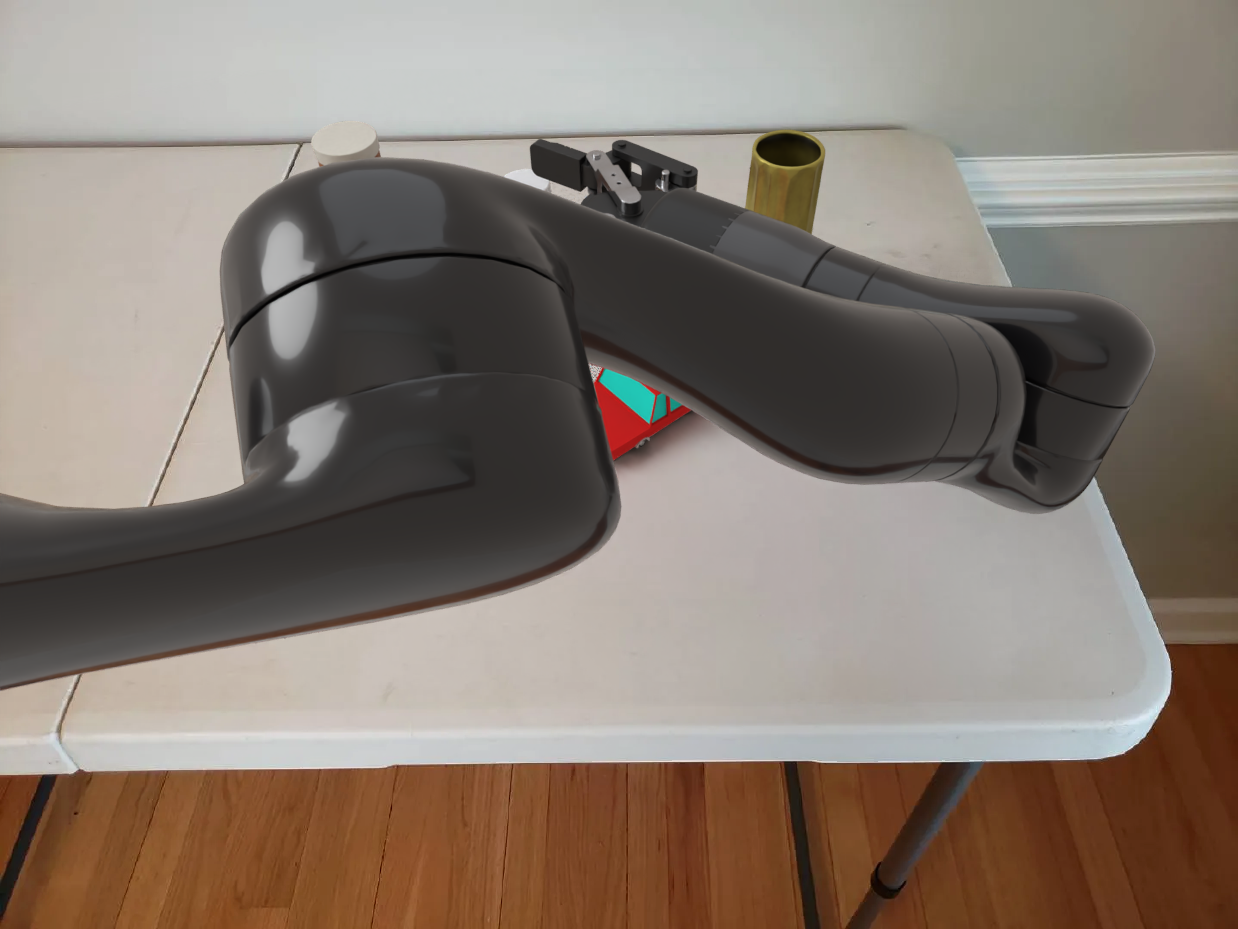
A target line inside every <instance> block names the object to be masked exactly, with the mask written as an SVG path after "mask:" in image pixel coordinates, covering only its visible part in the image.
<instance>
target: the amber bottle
mask: <svg viewBox="0 0 1238 929" xmlns="http://www.w3.org/2000/svg"><path fill="white" fill-rule="evenodd" d="M310 143H311V148H312V151H313V154H314V158H315V159H316V161H317V164H318V167H321V166H324V165H327V164H330V163H334V162H342V161H350V160H358V159H366V158H374V157H382V156H381V151H380V147H381V146H380V141H379V137H378V134H377V130H376V129H375V127H373V126H372V125H370V124H369V123H366V122H363V121H358V120H345V121H344V120H343V121H338V122H333V123H330V124H328V125H325V126H323V127H322V128H320V129H318V130H317V131H316V132H314V134H313V135H312V138H311V141H310Z"/></svg>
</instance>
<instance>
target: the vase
mask: <svg viewBox="0 0 1238 929" xmlns="http://www.w3.org/2000/svg"><path fill="white" fill-rule="evenodd" d="M825 157H826V148H825V146H824V144H823V142H822V141H820V139H818V138H817V137H815V136H814V135H812V134H810V133H808V132H805V131H801V130H795V129H778V130H773V131H769V132H765V133H764V134H761V135H760V136H758V137H757V138H756V139H755V140H754V142H753V145H752V148H751V159H750V165H749V172H748V173H749V174H748V180H747V188H746V196H745V197H746V198H745V205H744V208H745V209H748V210H751V211H754V212H756V213H759V214H762V215H765V216H768V217H771V218H774V219H777V220H779V221H782V222H785V223H788V224H791V225H793V226H796V227H798V228H800V229H802V230H804V231H806V232H808V233H810V234H812V235H813V229H814V224H815V223H814V222H815V216H816V211H817V207H818V200H819V193H820V187H821V182H822V181H821V180H822V175H823V170H824V165H825Z"/></svg>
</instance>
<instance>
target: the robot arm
mask: <svg viewBox="0 0 1238 929" xmlns="http://www.w3.org/2000/svg"><path fill="white" fill-rule="evenodd" d="M529 158H530V169H532V171H533V173H534V174H535V175H537V176H539V177H541V178H544V179H547V180H549V181H550V182H552V183H555V184H558V185H560V186H563V187H565V188H568V189H571V190H574V191H576V192H579V193H582V192H583V191H584V190H585V189H587V190H586V191H587V194H588V195H587V196H586V197H585V198H583V199H582V200H581V202H580V203H578V202H576V201H573V200H570V199H568V198H566V197H563V196H560V195H557V194H555V193H552V192H551V193H549V192H547V191H544V190H541V189H538V188H535V187H533V186H530V185H527V184H524V183H521V182H518V181H515V180H512V179H509V178H505V177H503V176H502V175H498V174H496V173H492V172H489V171H484V170H480V169H478V168H477V169H476V168H473V167H468V166H465V165H460V164H455V163H450V162H445V161H439V160H431V159H425V158H410V157H409V158H407V157H392V156H390V157H389V156H381V157H374V158H366V159H358V160H350V161H342V162H334V163H330V164H327V165H324V166H321V167H319V166H318V167H315V168H312V169H308V170H305V171H302V172H299V173H296V174H294V175H291V176H289V177H288V178H286V179H284V180H283V181H280V182H278V183H277V184H275V185H274V186H272V187H270V188H267V189H266V190H265V191H264V192H263V193H261V194H260V195H259V196H258V197H257V198H256V199H255V200H254V201H252V202H251V203H250V204H249V205H248V206H247V207H246V208H245V209H244V210H243V211H242V212H240V214H239V215H238V217H237V218H236V220H235V222H234V223H233V225H232V226H231V228H230V230H229V231H228V233H227V235H226V238H225V240H224V242H223V245H222V248H221V252H220V253H221V254H220V262H219V290H220V301H221V302H220V303H221V311H222V319H223V320H222V321H223V329H224V337H225V346H226V348H225V349H226V357H227V361H228V366H229V367H228V372H229V379H230V387H231V394H232V402H233V411H234V418H235V426H236V434H237V442H238V449H239V450H238V451H239V457H240V458H239V459H240V465H241V473H242V479H243V483H242V484H241V485H239V486H237V487H235V488H232V489H229V490H228V491H225V492H221V493H218V494H214V495H210V496H205V497H201V498H195V499H191V500H186V501H180V502H173V503H165V504H163V503H162V504H157V505H148V506H135V507H134V506H133V507H120V508H109V507H108V508H107V507H106V508H105V507H83V506H81V507H80V506H65V505H64V506H63V505H53V504H51V503H50V504H49V503H45V502H41V501H36V500H33V499H27V498H23V497H19V496H14V495H10V494H6V493H2V492H0V692H4V691H9V690H13V689H18V688H22V687H26V686H31V685H36V684H40V683H46V682H51V681H55V680H61V679H66V678H70V677H75V676H79V675H85V674H91V673H96V672H102V671H107V670H113V669H119V668H123V667H129V666H130V667H131V666H134V665H141V664H146V663H150V662H151V663H153V662H156V661H161V660H162V661H163V660H167V659H168V660H169V659H174V658H180V657H184V656H191V655H196V654H197V655H198V654H201V653H207V652H214V651H218V650H219V651H220V650H224V649H230V648H236V647H242V646H249V645H253V644H259V643H265V642H270V641H276V640H277V641H278V640H283V639H289V638H293V637H298V636H305V635H310V634H316V633H322V632H328V631H333V630H338V629H346V628H350V627H355V626H361V625H367V624H373V623H379V622H384V621H389V620H395V619H399V618H404V617H410V616H414V615H420V614H425V613H430V612H434V611H439V610H445V609H450V608H455V607H459V606H464V605H467V604H468V605H469V604H472V603H477V602H481V601H484V600H489V599H492V598H495V597H501V596H504V595H507V594H510V593H513V592H516V591H520V590H522V589H526V588H529V587H532V586H535V585H538V584H540V583H543V582H545V581H547V580H550V579H552V578H554V577H557V576H559V575H561V574H563V573H565V572H568V571H570V570H572V569H574V568H576V567H577V566H578V565H580V564H581V563H583V562H584V561H586V560H588V559H589V558H591V557H593V556H594V555H595V554H597V553H599V551H600V550H602V548H603V547H605V545H607V543H608V542H609V541H610V540H611V538H612V536H613V535H614V534H615V532H616V530H617V527H618V525H619V522H620V519H621V514H622V499H621V498H622V497H621V491H620V484H619V483H620V482H619V478H618V474H617V470H616V466H615V462H614V460H613V458H612V453H611V449H610V445H609V441H608V437H607V433H606V429H605V425H604V421H603V416H602V410H601V408H600V406H599V402H598V398H597V394H596V390H595V386H594V383H593V382H594V380H593V375H592V372H591V368H590V365H592V366H595V367H599V368H601V369H602V368H605V369H608V370H611V371H614V372H616V373H619V374H622V375H624V376H627V377H629V378H632V379H634V380H636V381H638V382H640V383H642V384H644V385H646V386H648V387H650V388H652V389H654V390H657V391H659V392H661V393H663V394H665V395H666V396H668V397H670V398H672V399H673V400H675V401H677V402H678V403H680V404H682V405H684V406H685V407H687V408H689V409H691V411H692V412H694V413H696V414H697V415H699V416H701V417H702V418H703V419H705V420H707V421H708V422H710V423H711V424H713V425H714V426H716V427H717V428H718V429H721V430H722V431H724V432H725V433H727V434H729V435H730V436H732V437H733V438H735V439H737V440H739V441H740V442H741V443H744V444H745V445H747V446H748V447H750V448H751V449H753V450H755V451H756V452H758V453H759V454H761V455H763V456H765V457H766V458H768V459H770V460H772V461H774V462H776V463H778V464H780V465H781V466H785V467H787V468H789V469H791V470H794V471H796V472H799V473H801V474H803V475H806V476H810V477H812V478H815V479H817V480H823V481H828V482H832V483H839V484H846V485H858V486H859V485H861V486H867V485H887V484H905V483H906V484H907V483H930V482H936V483H940V484H945V485H950V486H954V487H957V488H961V489H964V490H967V491H970V492H971V493H973V494H976V495H978V496H979V497H981V498H983V499H985V500H988V501H990V502H992V503H994V504H995V505H998V506H1001V507H1004V508H1006V509H1009V510H1011V511H1016V512H1019V513H1023V514H1030V515H1044V514H1049V513H1053V512H1055V511H1058V510H1061V509H1063V508H1064V507H1066V506H1068V505H1069V504H1071V503H1072V502H1074V501H1075V500H1076V499H1078V498H1079V497H1080V496H1082V494H1083V493H1084V492H1085V491H1086V490H1087V488H1088V486H1089V485H1090V484H1091V483H1092V481H1093V479H1094V478H1095V475H1096V474H1097V472H1098V470H1099V468H1100V467H1101V464H1102V463H1103V461H1104V458H1105V457H1106V454H1107V452H1108V451H1109V449H1110V447H1111V446H1112V443H1113V442H1114V440H1115V438H1116V436H1117V434H1118V433H1119V431H1120V429H1121V427H1122V425H1123V423H1124V422H1125V420H1126V418H1127V416H1128V414H1129V412H1130V410H1131V406H1132V405H1133V404H1134V403H1135V401H1136V399H1137V398H1138V396H1139V394H1140V392H1141V390H1142V388H1143V386H1144V385H1145V382H1146V380H1147V378H1148V377H1149V375H1150V373H1151V371H1152V368H1153V365H1154V362H1155V359H1156V358H1155V357H1156V344H1155V341H1154V338H1153V336H1152V333H1151V332H1150V330H1149V328H1148V327H1147V325H1146V324H1145V323H1144V321H1143V320H1142V319H1141V318H1140V317H1139V316H1138V315H1137V314H1136V313H1135V311H1133V310H1131V308H1129V307H1127V306H1126V305H1124V304H1122V303H1121V302H1119V301H1118V300H1115V299H1113V298H1111V297H1108V296H1105V295H1101V294H1098V293H1093V292H1089V291H1081V290H1073V289H1066V288H1065V289H1064V288H1048V287H1047V288H1046V287H1028V286H1027V287H1025V286H1004V285H992V284H980V283H972V282H964V281H956V280H949V279H945V278H944V279H943V278H939V277H934V276H930V275H925V274H920V273H916V272H913V271H910V270H907V269H903V268H900V267H898V266H894V265H892V264H887V263H885V262H882V261H879V260H876V259H873V258H870V257H867V256H865V255H862V254H859V253H856V252H854V251H850V250H848V249H844V248H842V247H839V246H836V245H835V244H832V243H830V242H828V241H826V240H823V239H821V238H820V237H817V236H815V235H814V234H813V233H812V234H810V233H808V232H806V231H804V230H802V229H800V228H798V227H796V226H793V225H791V224H788V223H785V222H782V221H779V220H777V219H774V218H771V217H768V216H765V215H762V214H759V213H756V212H754V211H751V210H748V209H745V207H742V206H739V205H737V204H734V203H731V202H728V201H725V200H723V199H720V198H716V197H714V196H711V195H708V194H705V193H703V192H699V191H697V190H698V176H699V169H698V168H697V167H695V166H694V165H691V164H688V163H686V162H683V161H681V160H679V159H676V158H673V157H671V156H667V155H665V154H662V153H660V152H657V151H655V150H653V149H650V148H648V147H644V146H642V145H639V144H637V143H634V142H632V141H629V140H626V139H617V140H615V141H613V142H612V144H611V150H609V151H606V152H605V151H603V150H598V149H597V150H596V149H595V150H590V151H588V152H584V151H582V150H580V149H576V148H574V147H570V146H569V145H565V144H562V143H559V142H552V141H549V140H546V139H542V138H538V139H537V140H536V141H534V142H533V143H532V144H531V145H530V146H529ZM633 164H634V165H637V166H639V168H640V170H641V173H638V172H635V171H632V165H633Z"/></svg>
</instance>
